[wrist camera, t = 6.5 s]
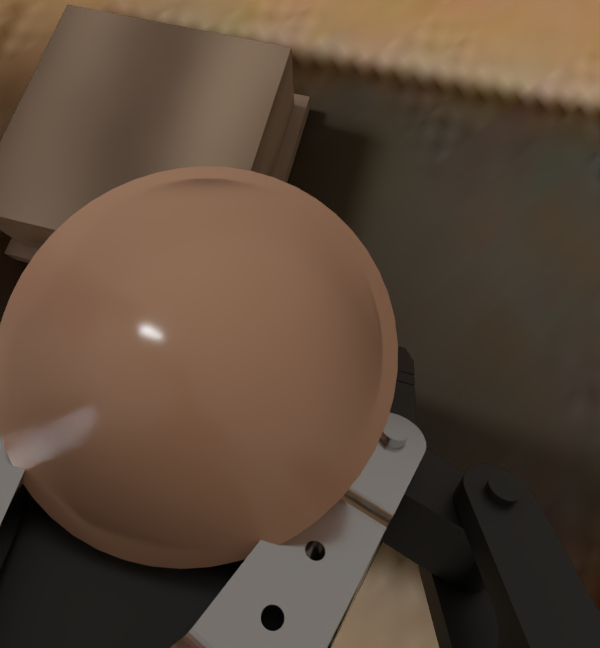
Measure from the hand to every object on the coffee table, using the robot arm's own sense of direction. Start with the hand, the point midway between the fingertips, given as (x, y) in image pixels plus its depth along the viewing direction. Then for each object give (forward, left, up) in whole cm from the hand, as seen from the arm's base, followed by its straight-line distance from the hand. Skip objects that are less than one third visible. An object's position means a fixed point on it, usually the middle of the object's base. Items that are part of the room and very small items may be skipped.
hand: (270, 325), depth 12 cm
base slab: (-8, +7, -7) cm, 13 cm away
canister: (0, -2, -5) cm, 5 cm away
